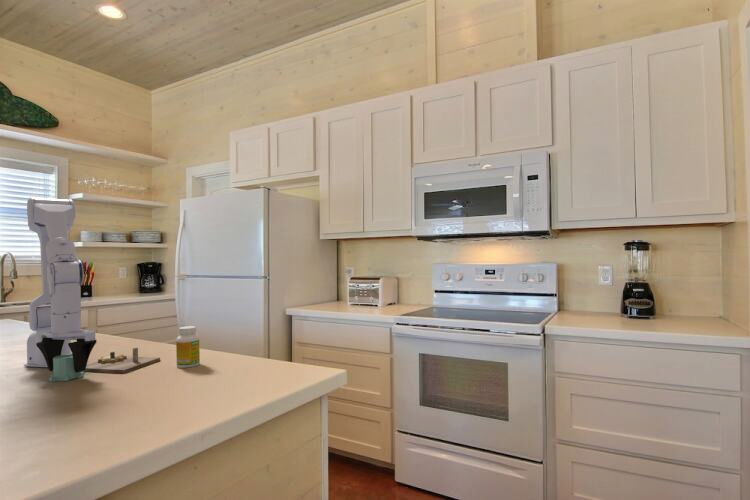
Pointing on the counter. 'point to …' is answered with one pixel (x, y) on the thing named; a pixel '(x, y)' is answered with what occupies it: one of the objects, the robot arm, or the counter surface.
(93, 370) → the gear board
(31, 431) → the counter surface
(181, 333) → the supplement bottle
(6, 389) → the counter surface
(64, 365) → the gear
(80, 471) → the counter surface
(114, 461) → the counter surface
